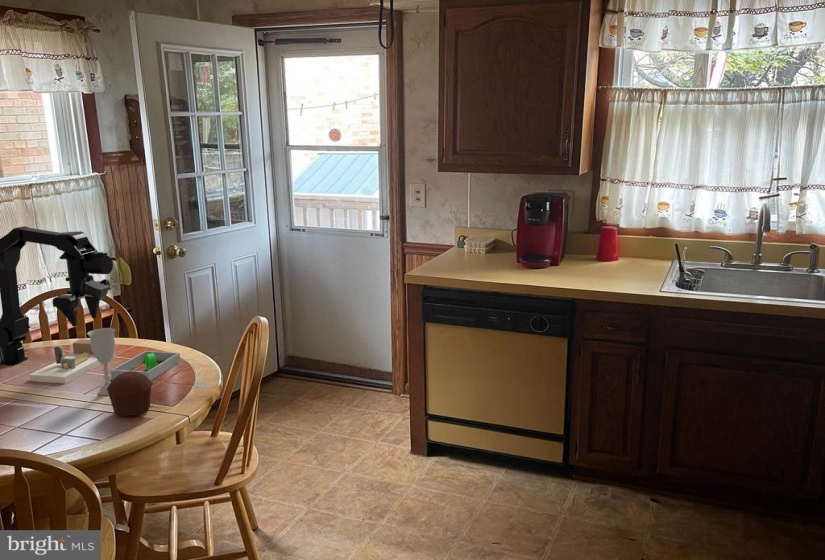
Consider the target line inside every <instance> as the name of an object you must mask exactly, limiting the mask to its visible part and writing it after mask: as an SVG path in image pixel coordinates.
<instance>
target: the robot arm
mask: <svg viewBox="0 0 825 560" xmlns="http://www.w3.org/2000/svg"><path fill="white" fill-rule="evenodd" d="M27 242H28V243H34V244H39V245H47V246H52V247H55V248H56V249H57V250H59V251H62V252H63V253H62V254H61V255H60V256H59V259H60V260H66V268H67V274H68V275H67V277H65V282H68V283H69V285H68V286H69V290H67V291H66V294H61V295H60V294H59V295H57V296H54V298H53V299H52V301H51V302H52V306H53V307H54V308H56V309H58V310H60V312H61V313H62V314H63V315H64V317H65V318H66V319H67V321H68V322H69V323H70V325H71V326H72V327H74V328H75V327H77V325H78V324H77V323H78V320H77V318H78V317H77V310H78V308H79V307H80V305H79V302H80V301H79V300H81V299H84V300H85V303H86V305H87V308H88V309H87V310H88V312H89V315H90V316H91V319H96V318H97V314H98V310H99V306H100V302H101V300H103V299H104V297H107V295H108V294H109V292H110V290H112V288H111V283H110V280H109V279H107V278H104V279H102V280H101V281H100V280H94V276H93V275H110V274H111V273H112V271H113V268H114V262H113V260H112V258H111V257H110V256H109V255H108V251H98V250H97V248H96V247H95V246H94V245H93V243H92V242H91V241H90V239H89V238H88V236H87V234H86V233H85V232H84V231H79V230H78V231H67V232H66V231H65V232H57V231H52V230H46V229H39V228H33V227H29V226H25V225H24V226H18V227H14V228H12V229H11V230H10V231H9V232H8V233H7V234H5V235H4V236H2V237H1V238H0V303H1V311H2V312H1V315H0V316H1V317H0V365H4V366H5V365H7V366H15V365H17V364H20V363H22V362H24V361H26V360H28V359H29V357H28V356H26V355H25V348H24V346H23V342H24V341H26V340H27V334H29V331H30V330H29V329H31V325H30V318H29V316H25V315H24V314H23V313H22V312H21V304H20V296H19V285H18V277H17V276H18V275H17V266H18V264H19V263H20V260H21V250H22V249H23V248H24V247H25V246H26V244H27Z"/></svg>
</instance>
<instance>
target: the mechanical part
mask: <svg viewBox="0 0 825 560" xmlns="http://www.w3.org/2000/svg"><path fill="white" fill-rule="evenodd" d="M144 365H145V367H144V368H145V369H144V370H145V371H146V372H147V371H149V370H151V369H152V368H154V367H156V366H157V365H158V362H157V360H156V357H155V355H154V353H151V354H146V355H145V361H144Z"/></svg>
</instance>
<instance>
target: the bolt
mask: <svg viewBox="0 0 825 560" xmlns="http://www.w3.org/2000/svg"><path fill="white" fill-rule="evenodd" d="M53 350H54V358H55V362H56V363H57V364H59V363H60V364H61V359H63V358H64V357H63V356H64V355H63V348H62V346H61V345H57V346H54V347H53ZM88 358H90V355H89V353H83V354H81V355H79V356H76V357H74V358H72V359H74V361H75V365H76V364H78V363H80V362H82V361H84V360H86V359H88ZM63 365H64V368H70V367H71V365H70V362H64V363H63Z"/></svg>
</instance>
